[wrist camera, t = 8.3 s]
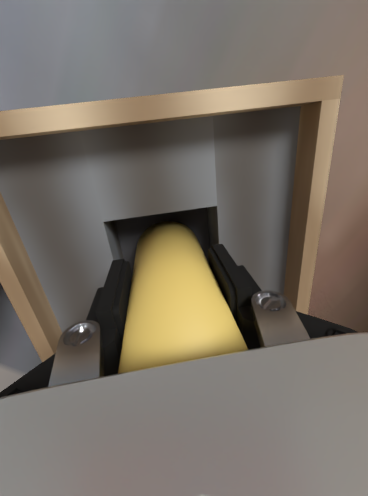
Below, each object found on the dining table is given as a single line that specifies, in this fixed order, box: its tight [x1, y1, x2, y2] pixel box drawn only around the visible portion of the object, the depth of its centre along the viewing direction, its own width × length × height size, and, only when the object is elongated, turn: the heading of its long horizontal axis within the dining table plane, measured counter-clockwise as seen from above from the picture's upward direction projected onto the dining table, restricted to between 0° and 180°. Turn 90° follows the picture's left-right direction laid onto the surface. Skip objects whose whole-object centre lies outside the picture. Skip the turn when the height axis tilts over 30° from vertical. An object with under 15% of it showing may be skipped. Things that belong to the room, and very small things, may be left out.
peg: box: [118, 221, 248, 374], centre depth 10 cm, size 4×4×10 cm
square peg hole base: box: [0, 75, 344, 362], centre depth 14 cm, size 16×16×4 cm
